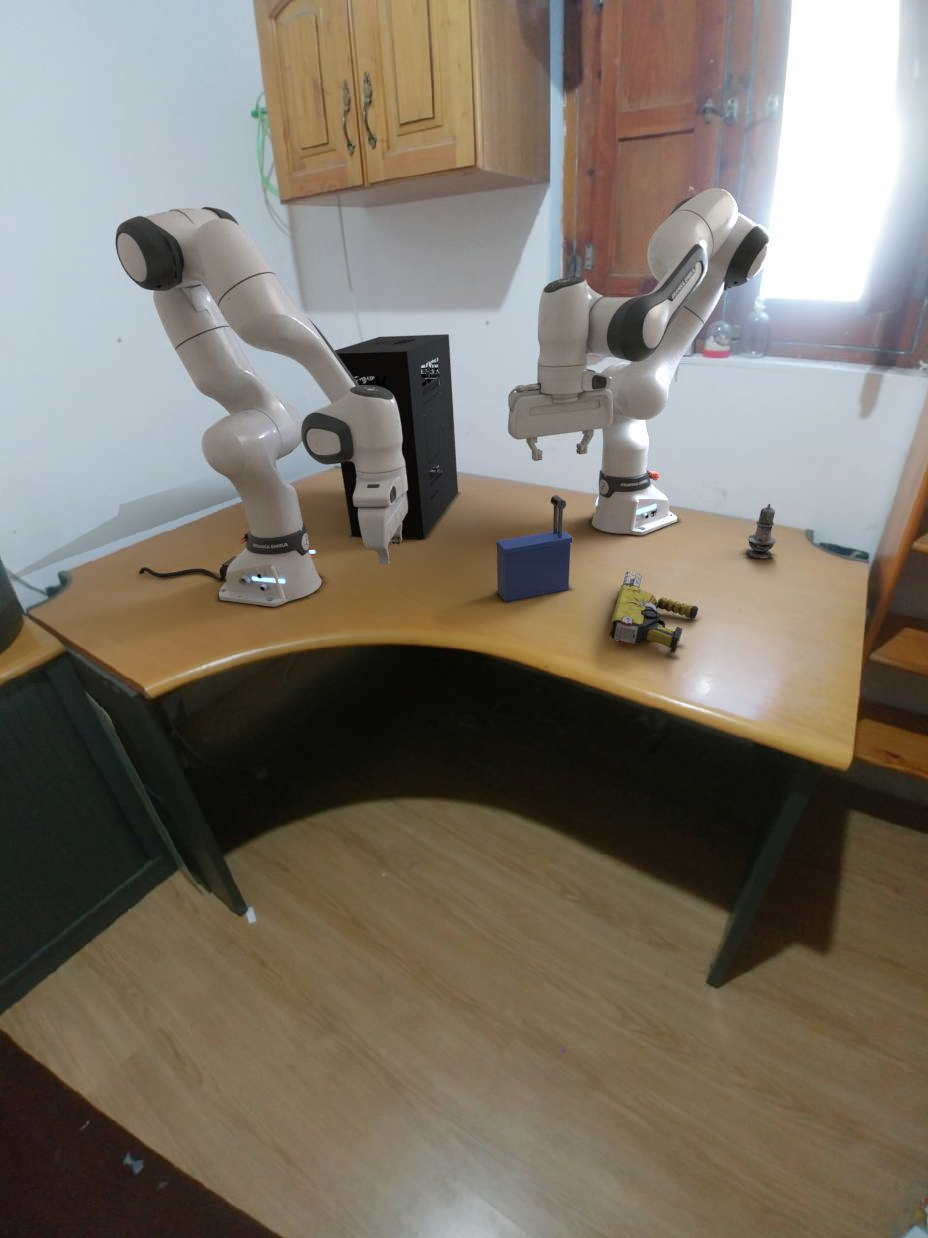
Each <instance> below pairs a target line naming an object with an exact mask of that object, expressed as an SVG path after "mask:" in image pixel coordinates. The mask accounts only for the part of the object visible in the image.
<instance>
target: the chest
mask: <svg viewBox="0 0 928 1238" xmlns="http://www.w3.org/2000/svg"><path fill="white" fill-rule="evenodd" d="M570 563H571V543H568V544H562V545H556V546H551V547H545V548H540V549H534V550H528V551H523V552H517V553H511V554H506V555H505V554H504V553H503V552H502V551H501V550H500V549H499V548H498V547H497V546H496V578H497V579H496V580H497V583H496V584H497V594H499V596H500V597H501V598H502V599H503V601H504V602H507V603H508V602H511V601H512V602H513V601H517V600H521V599H522V600H523V599H527V598H533V597H537V596H542V595H547V594H548V595H549V594H552V593H557V592H563V591H567V590H569V587H570Z"/></svg>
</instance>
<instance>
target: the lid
mask: <svg viewBox="0 0 928 1238" xmlns="http://www.w3.org/2000/svg"><path fill="white" fill-rule="evenodd" d="M550 504H551V505H553V515H552V517H553V519H552V520H553V522H552V531H548V532H543V533H536V534H530V535H524V536H517V537H512V538H507V539H501V540H496V543H495V544H496V545H495V546H496V548H497V547H498V548H499V549H500V550H501V551H502V552H503V553H504V554H505V555H506V554H511V553H517V552H523V551H528V550H534V549H540V548H545V547H551V546H556V545H562V544H568V543H570V544H572V543H573V539H574V538H573V536H571V535H570V534H569V533H567V532H566V531H565V530H564V529H563V518H564V517H563V515H564V509H566V507H567V502H566V500H565V499H563V498H561V497H560V496H559V495H553V496H551V498H550Z"/></svg>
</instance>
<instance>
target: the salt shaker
mask: <svg viewBox="0 0 928 1238" xmlns="http://www.w3.org/2000/svg"><path fill="white" fill-rule="evenodd" d="M771 506H772V505H771V504H770V503H768V504H767V506H766V507H762V508H761V510H760V513H759V518H758V521H756V531H755V533H754V534H750V535H749V536H747V540H748V545H749V547H750V548H749V549H747V550H746V554H747V556H749V557H752V558H755V559H768V558H771V557H772V556H773V555H772V552H771V551H770V550H772V548H773V547H774V545H775V544H776V543H777V539H776V538H775V537H773V536H772V529H773V527H774V526H775V523H774V519H775V514H776V511H775V509H774V508H772V507H771Z"/></svg>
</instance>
